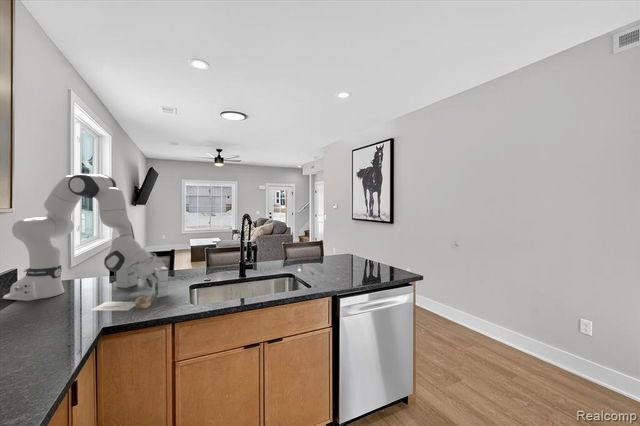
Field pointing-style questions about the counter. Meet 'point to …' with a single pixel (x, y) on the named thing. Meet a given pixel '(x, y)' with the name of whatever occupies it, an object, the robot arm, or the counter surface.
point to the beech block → (143, 302)
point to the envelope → (115, 306)
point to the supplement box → (126, 278)
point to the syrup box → (160, 282)
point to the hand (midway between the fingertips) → (161, 279)
